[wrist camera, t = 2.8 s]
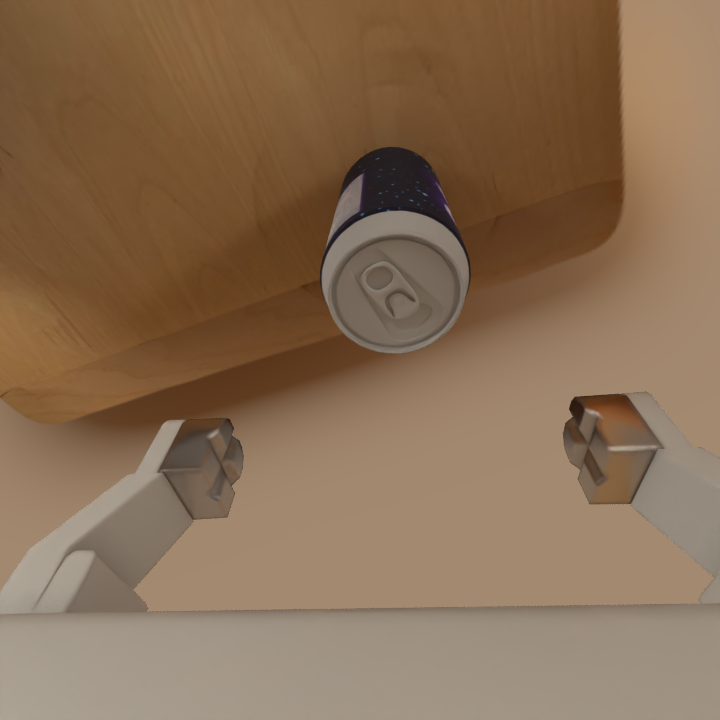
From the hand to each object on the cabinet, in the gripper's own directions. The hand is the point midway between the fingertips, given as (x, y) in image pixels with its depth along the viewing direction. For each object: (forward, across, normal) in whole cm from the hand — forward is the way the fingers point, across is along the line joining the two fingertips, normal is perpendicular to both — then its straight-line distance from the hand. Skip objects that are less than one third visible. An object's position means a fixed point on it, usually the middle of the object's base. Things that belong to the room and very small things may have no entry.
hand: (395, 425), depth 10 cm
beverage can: (+18, 0, 0) cm, 18 cm away
